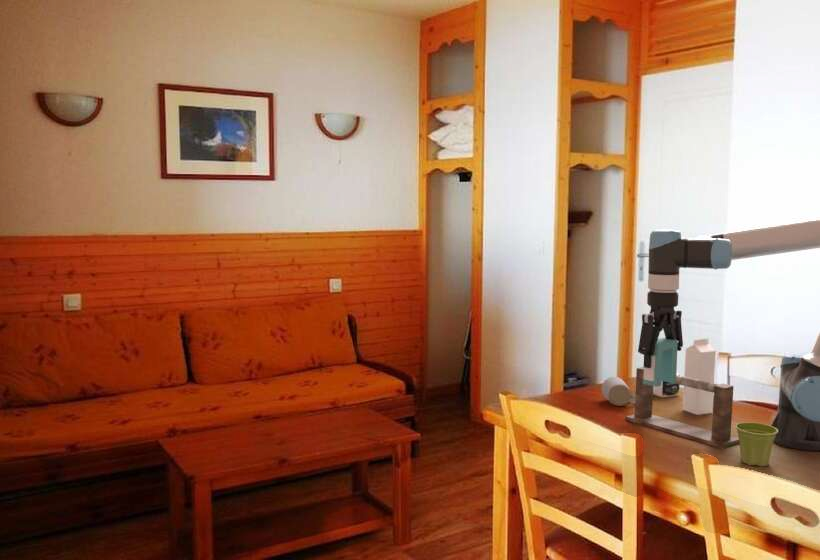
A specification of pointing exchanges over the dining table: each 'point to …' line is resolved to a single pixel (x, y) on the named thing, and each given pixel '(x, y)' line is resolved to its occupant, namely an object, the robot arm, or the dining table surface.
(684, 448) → the dining table surface
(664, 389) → the medicine bottle
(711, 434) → the hanger stand
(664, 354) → the teal block
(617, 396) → the ceramic mug
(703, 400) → the milk
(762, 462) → the plant pot
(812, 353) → the robot arm
